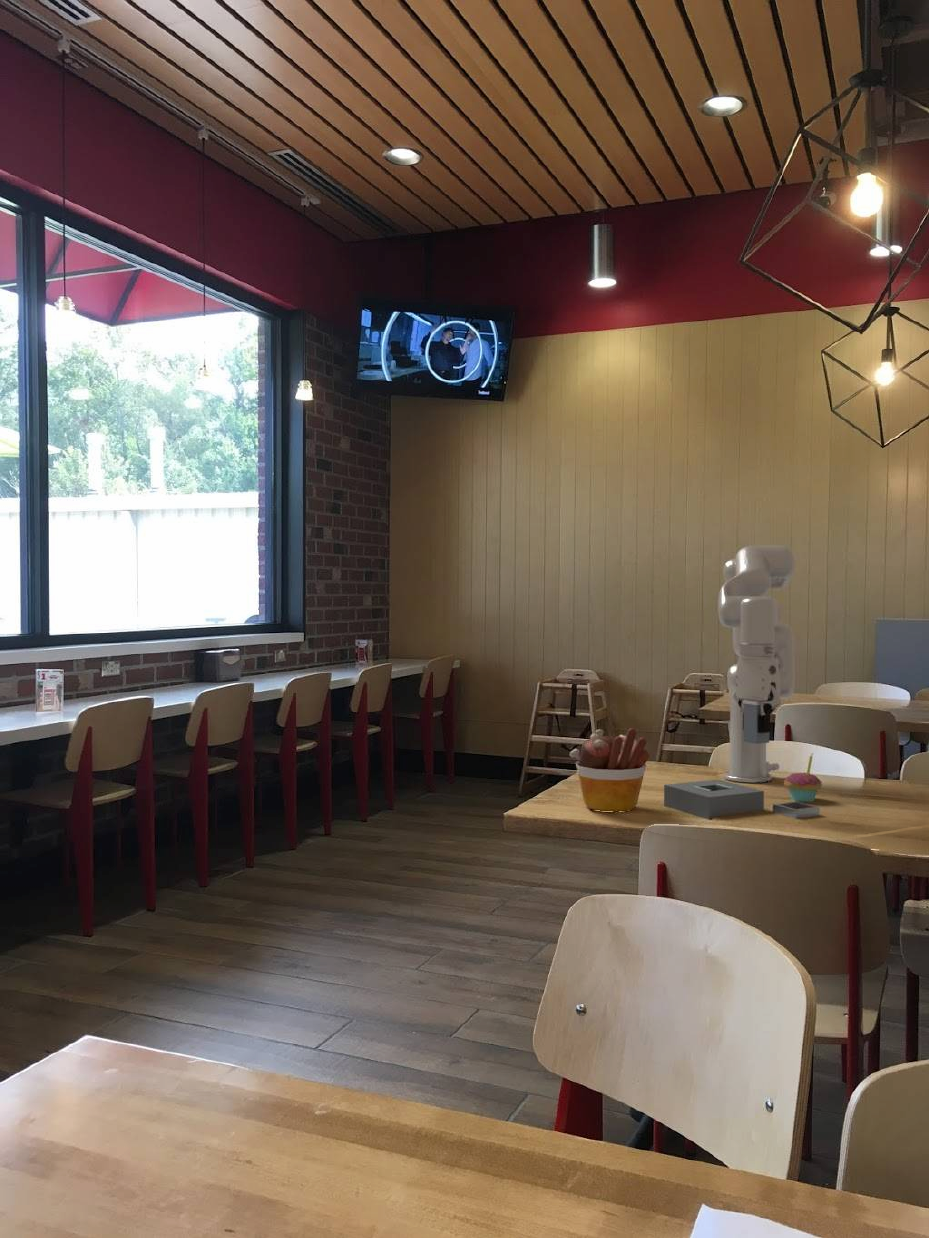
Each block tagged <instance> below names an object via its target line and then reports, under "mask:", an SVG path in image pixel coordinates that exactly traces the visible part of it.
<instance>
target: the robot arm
mask: <svg viewBox="0 0 929 1238" xmlns="http://www.w3.org/2000/svg"><path fill="white" fill-rule="evenodd" d="M795 567H796V566H795V556H794V554H793V551H792V550H791V549H790V547H788V546H787V545H783V544H781V545H780V544H779V545H778V544H777V545H775V544H771V545H769V544H768V545H765V544H764V545H762V544H761V545H747V546H745V547H742V548H740V550H738V552H737V553H736V555H735V558H732V559H728V561H726V562H725V563H724V565H723V569H722V571H723V573H722V574H723V580H724V584H723V585H722V586H721V588H720V590H719V593H718V598H717V613H718V614H717V615H718V621H719V622H720V624H721V625H722V626H723V627H725V628H729V629H732V645H733V646H732V647H733V652H734V653H735V654H736V655H737V656H738V661H737V663H735V664H733V665H731V666H730V667H729V668H728V671H727V676H726V679H727V681H726V683H727V689H728V696H729V714H730V715H729V719H730V720H729V770H728V771H725V772H724V773H723V778H724V780H725V779H726V780H728V781H733V782H737V783H740V782H741V783H751V784H752V783H753V784H756V783H757V784H758V782H759V783H767V782H766V781H768V782H770V780H771V781H772V780H773V775H771V774H770V772H771V771H779V770H780V765H779V763H778V762H774V763H770V762H769V761H767V743H760V744H754V743H749V742H744V703H743V700H750V701H758V702H759V710H760V715H758V733H767V732H769V733H770V731H771V715H773V712H774V711H775V709H776V708H778V707H779V706H781V704H782V701H781V699H782V700H783V699H788V698H791V697H792V696H793V695H794V692H795V687H796V686H795V684H796V682H795V681H796V680H795V679H796V676H795V675H796V674H795V673H796V672H795V671H796V667H795V665H796V663H795V662H796V661H795V657H796V655H795V635H794V632H793V629H792V627H791V626H790V625H789V624H786V623H782V622H780V621H781V618H782V606H781V604H780V603H779V601H778V600H777V599H776V598H775V597H773V596H765V595H766V594H767V593H768V592H769V591H770V590H784V589H787V588H788V587H789V586H790V584H791V582H792V579H793V575H794V572H795ZM764 704H766V707H765V706H764Z"/></svg>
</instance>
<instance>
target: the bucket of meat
mask: <svg viewBox="0 0 929 1238" xmlns="http://www.w3.org/2000/svg"><path fill="white" fill-rule="evenodd" d="M604 733H605V731H604V730H603V729H600V728H599V729H596V730H595V733H592V734H591V735H589V736H590V737H589V739H586V740H585V741H584V742H583V743H582V746H581V750H579V749H577V748H574V749H573V750H571V751H570V752H569V756H570V758H571V759H573V758H574V759H576V760H577V761H575V765H576V766H575V767H576V770H577V774H578V780H579V785H580V789H581V793H582V798H583V802H584V804H585V805H586V807H587V808H588V810H590V809H593V810H600V811H613V812H619V811H628V810H630V811H632V810H633V809H634V808H635V807H636V806H637V804H638V801H639V797H640V794H641V793H640V792H641V788H642V783H643V781H644V777H645V771H646V769H647V764H646V763H647V761H648V759H649V758H650V754H649V752H648V751H647V749H645V747H646V745H647V739H646V738H645V737H640V738H639V739H638V740H636V736H637V731H636V728H634V727H630V728H629V729H628V730H627V733H626V735H623V734H619V736H615V737H614V736H612V735H603V734H604ZM631 809H632V810H631ZM593 810H592V811H593Z"/></svg>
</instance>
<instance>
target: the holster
mask: <svg viewBox="0 0 929 1238" xmlns="http://www.w3.org/2000/svg"><path fill="white" fill-rule="evenodd" d="M772 813H774V814H778V815H782V816H785V817H789V818H792V819H802V818H811V817H812V818H813V817H819V816H820V815H821V812H820V806H816V805H812V804H807V803H805V802H801V801H790V802H781V803H773V804H772Z"/></svg>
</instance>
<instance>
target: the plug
mask: <svg viewBox="0 0 929 1238" xmlns="http://www.w3.org/2000/svg"><path fill="white" fill-rule="evenodd" d="M743 703H744V742H749V743H754V744H760V743H766V744H767V743H770V732H767V733H758V715H760V710H759V702H758V701H750V700H743ZM764 706H765V707H766V704H764Z"/></svg>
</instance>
